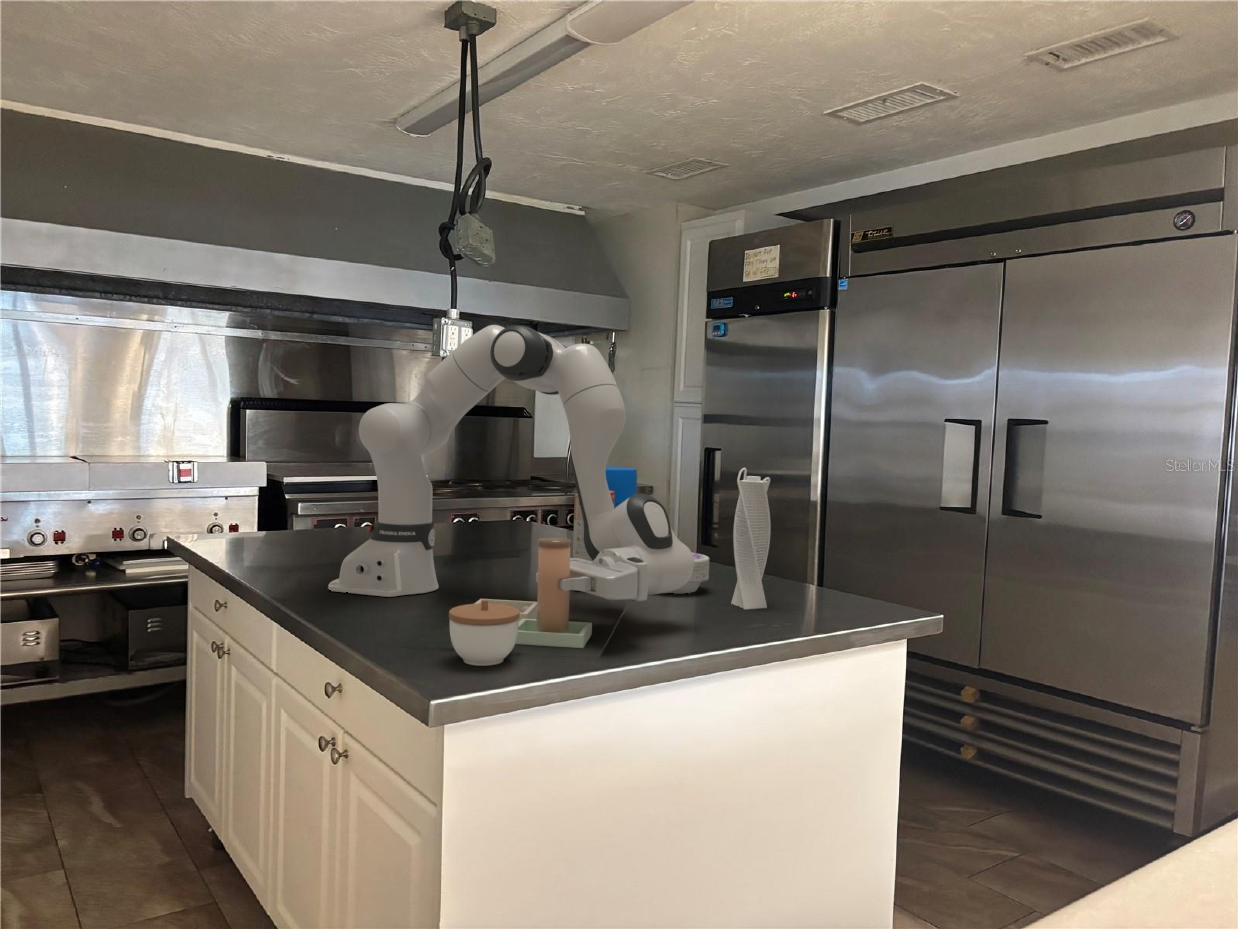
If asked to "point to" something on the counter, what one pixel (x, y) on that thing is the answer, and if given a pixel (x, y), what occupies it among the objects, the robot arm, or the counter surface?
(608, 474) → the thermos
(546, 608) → the terracotta canister
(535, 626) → the sage tray
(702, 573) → the paper bowls
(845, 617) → the counter surface
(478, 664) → the lidded jar
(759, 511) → the skyscraper
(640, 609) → the counter surface
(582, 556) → the cracker box
